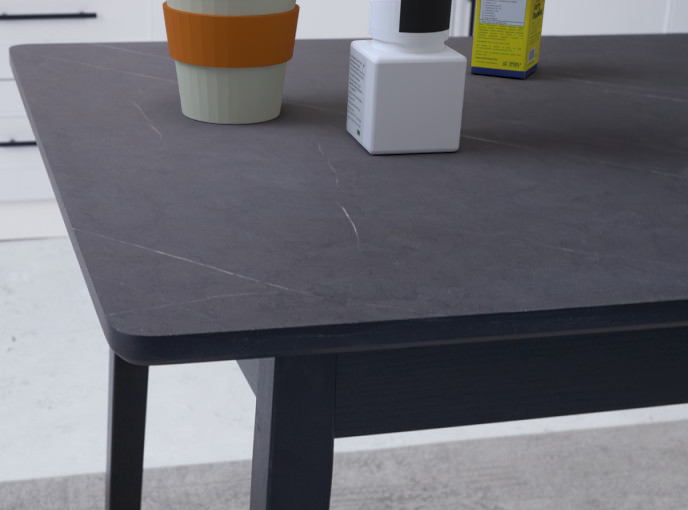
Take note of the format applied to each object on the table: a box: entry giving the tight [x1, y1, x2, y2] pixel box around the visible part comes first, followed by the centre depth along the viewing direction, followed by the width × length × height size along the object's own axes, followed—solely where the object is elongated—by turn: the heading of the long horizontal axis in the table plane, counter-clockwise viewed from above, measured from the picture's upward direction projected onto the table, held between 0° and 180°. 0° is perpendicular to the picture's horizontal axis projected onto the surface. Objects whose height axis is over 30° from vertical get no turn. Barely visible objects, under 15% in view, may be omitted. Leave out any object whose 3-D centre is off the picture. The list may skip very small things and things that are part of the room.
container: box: [346, 0, 468, 155], centre depth 95 cm, size 8×8×13 cm
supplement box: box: [470, 0, 546, 80], centre depth 121 cm, size 6×6×11 cm
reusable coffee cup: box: [162, 0, 301, 125], centre depth 102 cm, size 13×13×15 cm
